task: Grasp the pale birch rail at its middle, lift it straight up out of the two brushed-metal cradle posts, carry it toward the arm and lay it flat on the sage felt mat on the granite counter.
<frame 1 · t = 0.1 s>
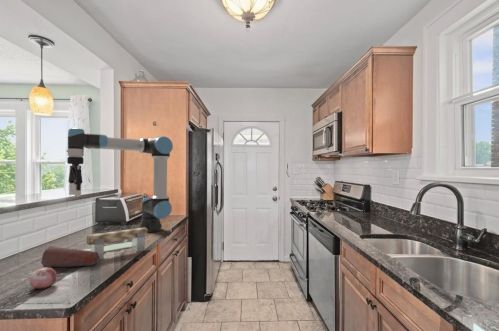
hand: (74, 195, 153), 28 cm above the worktop, fingers open, 13 cm apart
post 2: (138, 249, 149), on the worktop
onion: (43, 287, 101), on the worktop
post 1: (96, 257, 135), on the worktop
food: (70, 267, 122), on the worktop
rail: (118, 239, 142), point 7 cm above the worktop, touching post 2, post 1
mat: (111, 248, 150), on the worktop
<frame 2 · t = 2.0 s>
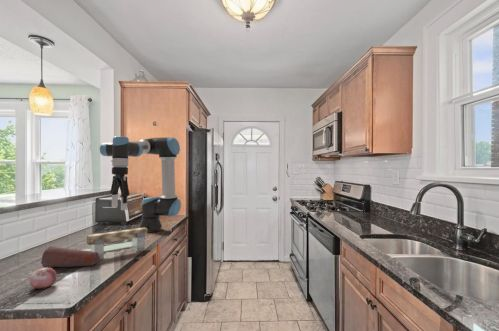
hand: (119, 208, 142), 23 cm above the worktop, fingers open, 13 cm apart
nothing on the worktop moved.
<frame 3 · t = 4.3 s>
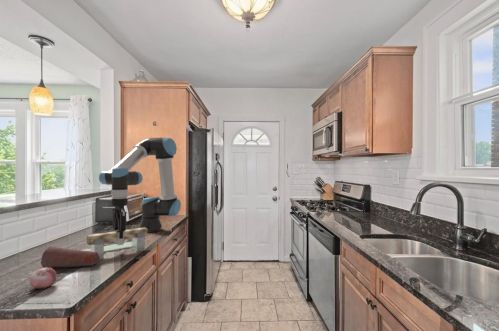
hand: (118, 243, 142), 5 cm above the worktop, fingers closed on rail, 4 cm apart
rail: (118, 239, 142), point 7 cm above the worktop, touching gripper, post 2, post 1
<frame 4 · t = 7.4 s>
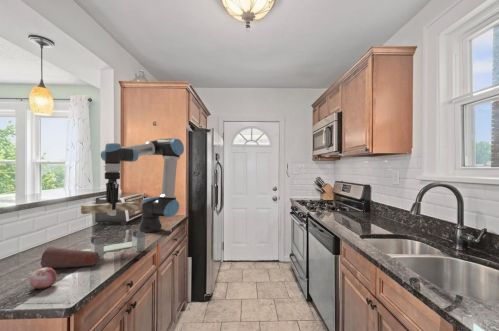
hand: (111, 215, 151), 18 cm above the worktop, fingers closed on rail, 4 cm apart
rail: (111, 211, 151), point 20 cm above the worktop, touching gripper
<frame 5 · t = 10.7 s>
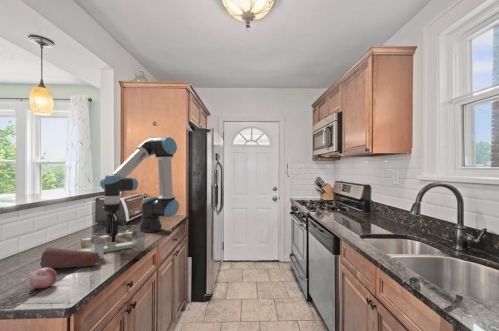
hand: (111, 246, 150), 1 cm above the worktop, fingers closed on rail, 4 cm apart
rail: (111, 242, 150), point 3 cm above the worktop, touching gripper
when the fingers open (1 cm above the worktop, at t = 10.9 s): rail drops 2 cm, resting on mat.
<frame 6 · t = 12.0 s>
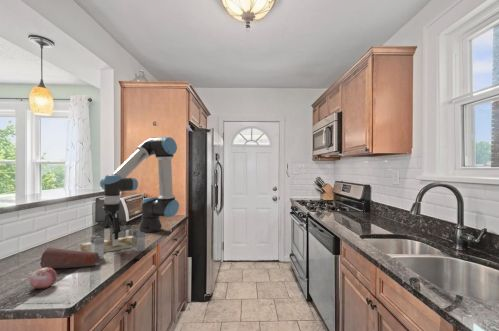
hand: (111, 242, 150), 3 cm above the worktop, fingers open, 13 cm apart
rail: (111, 247, 150), point 1 cm above the worktop, touching mat
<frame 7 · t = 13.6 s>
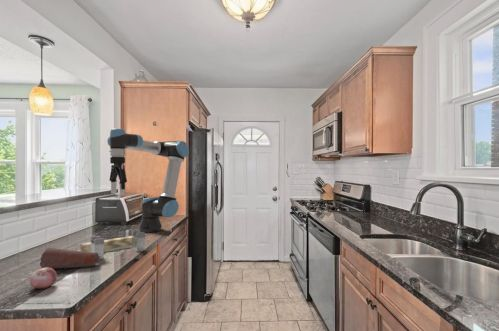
hand: (117, 194, 157), 29 cm above the worktop, fingers open, 13 cm apart
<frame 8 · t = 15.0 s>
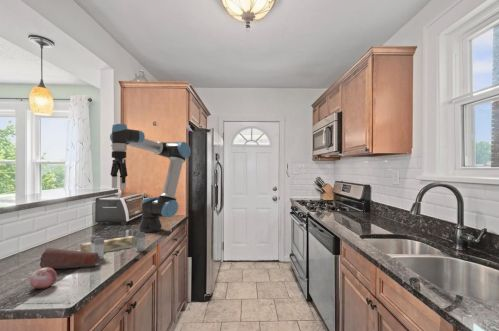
hand: (118, 188, 158), 32 cm above the worktop, fingers open, 13 cm apart
at the end: rail inside the target area (0.1 cm from its centre), point 0.6 cm above the worktop; rail touching mat; the gripper is holding nothing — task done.
